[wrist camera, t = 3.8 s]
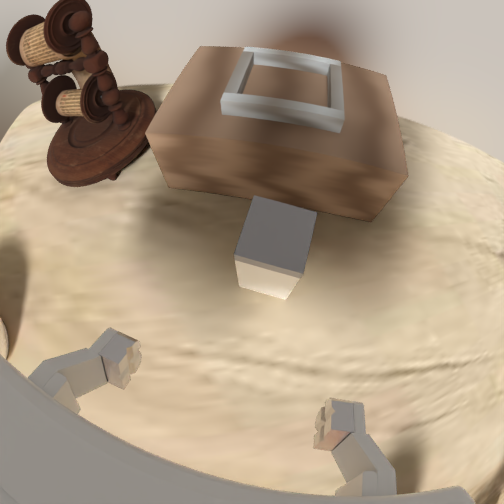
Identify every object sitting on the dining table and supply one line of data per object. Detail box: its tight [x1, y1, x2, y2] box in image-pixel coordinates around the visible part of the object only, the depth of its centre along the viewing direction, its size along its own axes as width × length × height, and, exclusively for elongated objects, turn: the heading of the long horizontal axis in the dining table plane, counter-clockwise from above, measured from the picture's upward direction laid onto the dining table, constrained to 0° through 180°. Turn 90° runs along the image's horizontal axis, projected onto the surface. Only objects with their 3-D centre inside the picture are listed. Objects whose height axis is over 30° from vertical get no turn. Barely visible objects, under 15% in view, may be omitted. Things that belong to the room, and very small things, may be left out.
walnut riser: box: [145, 46, 408, 222], centre depth 24 cm, size 20×14×10 cm
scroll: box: [6, 0, 157, 187], centre depth 20 cm, size 15×15×20 cm
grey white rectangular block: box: [234, 195, 317, 300], centre depth 20 cm, size 4×4×8 cm
